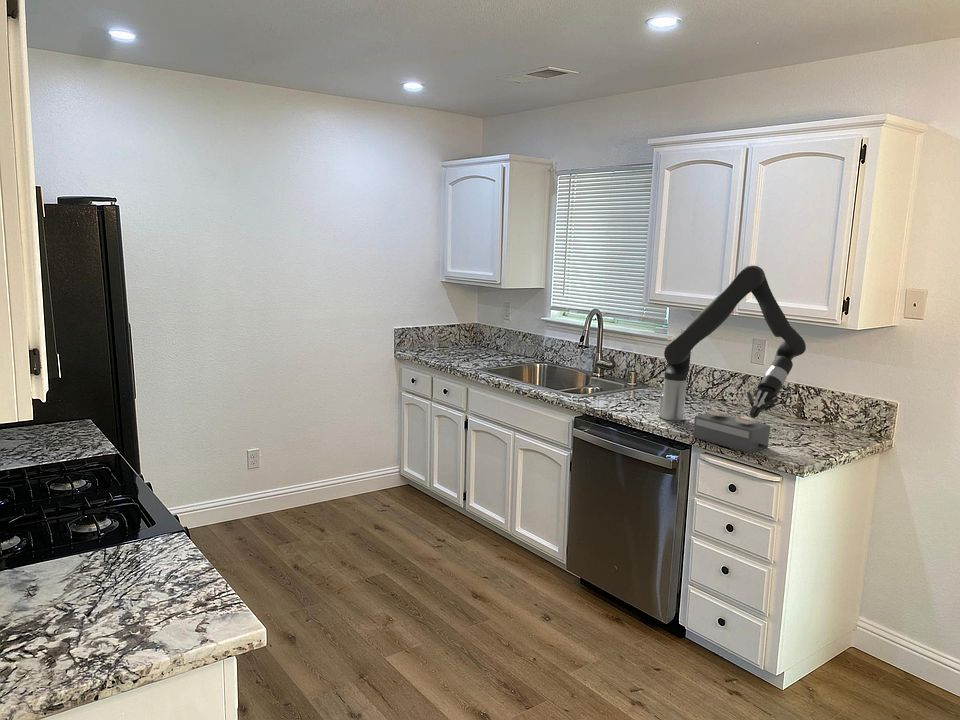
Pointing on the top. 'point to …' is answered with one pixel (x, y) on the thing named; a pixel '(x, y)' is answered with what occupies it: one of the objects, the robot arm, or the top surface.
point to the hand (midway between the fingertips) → (752, 416)
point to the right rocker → (746, 420)
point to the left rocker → (718, 413)
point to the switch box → (731, 432)
